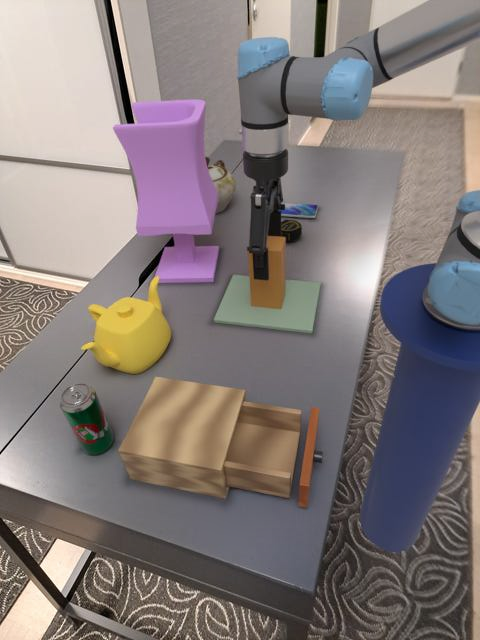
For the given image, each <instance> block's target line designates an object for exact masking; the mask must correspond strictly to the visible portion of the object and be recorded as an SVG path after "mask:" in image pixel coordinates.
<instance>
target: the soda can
mask: <svg viewBox="0 0 480 640" xmlns="http://www.w3.org/2000/svg"><path fill="white" fill-rule="evenodd" d="M59 397H60V398H59V406H60V407H59V408H60V409H61V411H62V413H63V416H64V418H65V419H66V421H67V423H68V425H69V427H70V429H71V431H72V433H73V434H74V436H75V438H76V440H77V442H78V443H79V446H80V447H81V449H82V452H84V453H85V454H86V455H90V456H94V455H95V456H97V455H100V454H103V453H105V452H106V451H108V450H109V449H110V448H111V446H112V445H113V443H114V440H115V435H114V432H113V430H112V428H111V425H110V422H109V420H108V417H107V415H106V413H105V411H104V409H103V406H102V403H101V401H100V399H99V397H98V393H97V392H96V390H95V389H94V388H93V387H91V386H90V385H89V384H88V383H84V382H76V383H73V384H70V385H68V386H67V387H66V388H65V389H64V390H63V391H62V392H61V394H60V396H59Z"/></svg>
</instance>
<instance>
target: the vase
mask: <svg viewBox="0 0 480 640" xmlns="http://www.w3.org/2000/svg"><path fill="white" fill-rule="evenodd" d="M206 108H207V103H206V101H205V100H203V99H197V98H196V99H194V98H193V99H173V100H172V99H171V100H154V101H136V102H132V104H131V110H132V112H133V114H134V117H135V120H136V123H123V124H114V125H113V126H112V130H113V132H114V134H115V135H116V138H117V139H118V141H119V143H120V145H121V146H122V149H123V151H124V152H125V154H126V156H127V159H128V161H129V163H130V165H131V168H132V172H133V174H134V178H135V181H136V182H135V183H136V189H137V190H136V191H137V215H136V224H135V230H136V234H137V237H153V236H155V237H156V236H162V235H171V234H172V238H173V243H174V246H164V249H163V251H162V255H161V257H160V260H159V263H158V265H157V269H156V272H155V275H154V277H153V279H154V278H155V277H156V276H159V282H158V284H177V283H179V284H180V283H214V281H215V277H216V270H217V264H218V259H219V253H220V246H219V245H201V246H200V245H198V246H197V245H195V238H194V235H196V236H199V235H212V233H213V228H214V222H215V217H216V213H215V212H216V209H217V205H218V192H217V190H216V188H215V185H214V183H213V181H212V179H211V176H210V174H209V171H208V167H207V164H206V159H205V157H206V152H205V124H206V123H205V122H206V110H207V109H206Z"/></svg>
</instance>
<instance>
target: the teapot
mask: <svg viewBox="0 0 480 640" xmlns="http://www.w3.org/2000/svg"><path fill="white" fill-rule="evenodd" d="M154 277H155V276H154ZM154 277H153V279H151V281H150V284H149V288H148V295H147V301H146V300H144V299H139V298H136V297H130V296H127V297H123V298H120V299H119V300H117V301H115V302H114V303H112V304H111V305H110V306H108V308H106V307H105V306H102V305H100V304H97V303H92V304H90V305H89V306H87V307H88V308H87V311H88V313H89V315H90V316H91V318H92V320H93V321H94V322H95V323H96V324H95V328H94V334H93V341H90V342H87V343H85V344H84V345H82V346H81V348H80V349H81V350H83V351H87V350H88V351H89V350H90V351H92V353H93V355H94V358H95V359H96V361H97V362H98V363H99V364H100V365H103V366H104V367H108V368H112V369H114V370H117V371H119V372H123V373H127V374H131V375H136V374H137V375H139V374H141V373H143V372H145V371H147V370H148V369H150V367H152V366H153V365H154V364H156V363H157V362H158V361H159V360H160V359H161V357H162V356H163V355H164V353H165V351H166V350H167V348H168V345H169V344H170V341H171V338H172V331H171V327H170V324H169V322H168V320H167V318H166V317H165V316H164V314H163V307H162V302H161V300H160V296H159V292H158V287H159V283H158V282H159V276H156V277H155V278H154Z"/></svg>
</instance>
